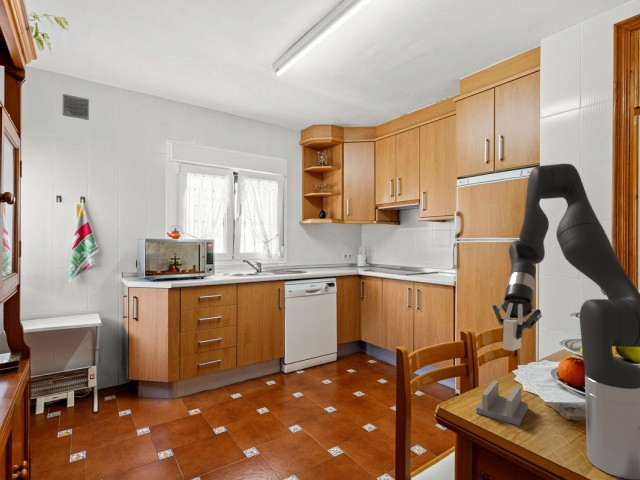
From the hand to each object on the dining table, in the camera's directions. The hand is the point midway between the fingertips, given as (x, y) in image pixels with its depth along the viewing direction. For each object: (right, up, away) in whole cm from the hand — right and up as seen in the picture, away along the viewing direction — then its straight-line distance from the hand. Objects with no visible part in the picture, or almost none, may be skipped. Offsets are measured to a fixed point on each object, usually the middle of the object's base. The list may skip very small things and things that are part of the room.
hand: (511, 337), depth 101 cm
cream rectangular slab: (0, -3, 0) cm, 4 cm away
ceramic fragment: (+11, -18, -10) cm, 23 cm away
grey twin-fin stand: (-7, -17, -8) cm, 20 cm away
